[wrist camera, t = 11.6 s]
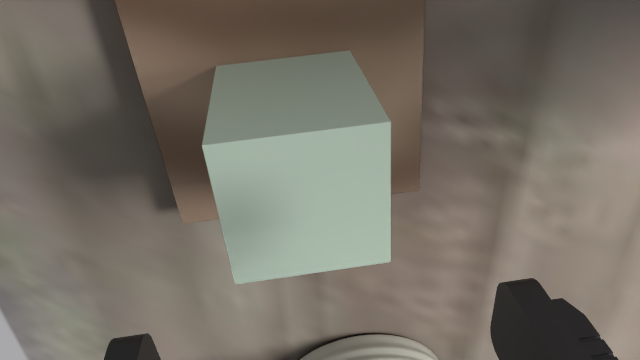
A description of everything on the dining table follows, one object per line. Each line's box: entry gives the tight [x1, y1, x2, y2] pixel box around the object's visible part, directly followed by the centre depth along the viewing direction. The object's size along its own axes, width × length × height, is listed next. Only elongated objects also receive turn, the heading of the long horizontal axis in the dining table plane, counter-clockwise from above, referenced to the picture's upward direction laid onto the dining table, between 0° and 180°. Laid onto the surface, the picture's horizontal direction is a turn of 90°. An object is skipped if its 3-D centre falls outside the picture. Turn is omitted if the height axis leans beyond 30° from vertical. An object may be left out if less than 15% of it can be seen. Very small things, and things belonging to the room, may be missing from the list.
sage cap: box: [202, 51, 391, 284], centre depth 19 cm, size 6×6×7 cm
